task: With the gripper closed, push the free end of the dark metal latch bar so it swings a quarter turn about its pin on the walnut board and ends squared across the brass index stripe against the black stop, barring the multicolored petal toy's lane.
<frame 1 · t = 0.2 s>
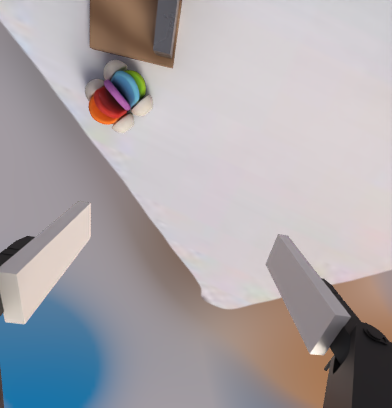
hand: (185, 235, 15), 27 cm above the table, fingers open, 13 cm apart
multicolored petal toy: (123, 99, 36), on the table
latch bar: (167, 18, 29), point 3 cm above the table, hinge at 0.0°
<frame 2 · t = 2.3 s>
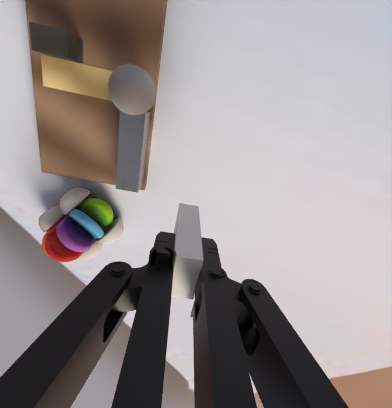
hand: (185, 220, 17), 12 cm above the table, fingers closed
multicolored petal toy: (90, 217, 30), on the table
latch bar: (133, 150, 24), point 3 cm above the table, hinge at 0.0°
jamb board: (98, 93, 24), on the table
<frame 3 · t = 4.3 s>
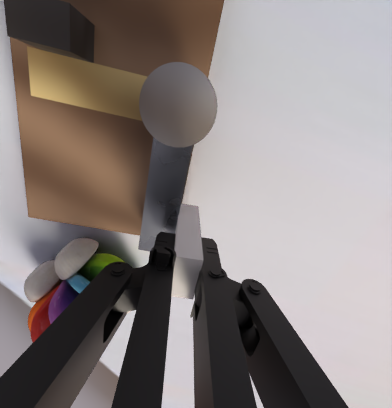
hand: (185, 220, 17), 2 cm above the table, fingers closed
multicolored petal toy: (96, 271, 22), on the table
latch bar: (165, 192, 16), point 3 cm above the table, hinge at 0.0°, touching gripper
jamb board: (115, 107, 16), on the table
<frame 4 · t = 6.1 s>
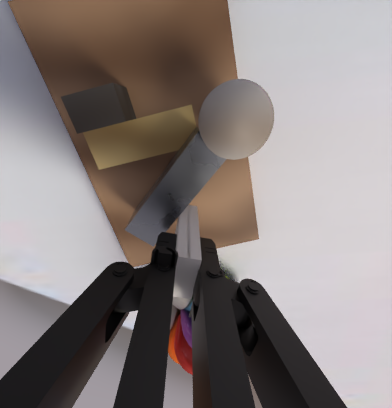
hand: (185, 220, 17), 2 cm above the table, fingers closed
multicolored petal toy: (198, 291, 24), on the table
latch bar: (174, 187, 15), point 3 cm above the table, hinge at -51.5°, touching gripper
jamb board: (164, 146, 17), on the table
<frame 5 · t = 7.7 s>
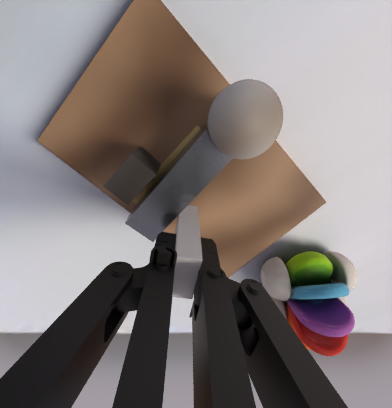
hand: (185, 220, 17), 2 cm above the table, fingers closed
multicolored petal toy: (293, 275, 24), on the table
latch bar: (178, 183, 15), point 3 cm above the table, hinge at -87.3°, touching gripper
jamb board: (193, 170, 18), on the table
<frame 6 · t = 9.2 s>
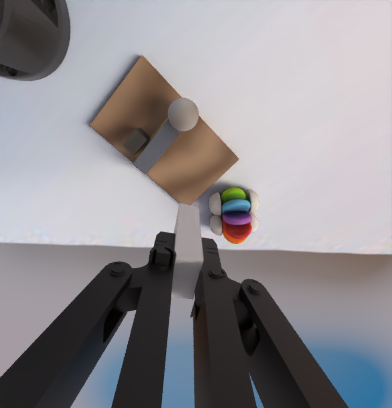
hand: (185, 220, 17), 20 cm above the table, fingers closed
multicolored petal toy: (231, 207, 40), on the table
latch bar: (158, 145, 32), point 3 cm above the table, hinge at -87.3°
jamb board: (168, 141, 34), on the table
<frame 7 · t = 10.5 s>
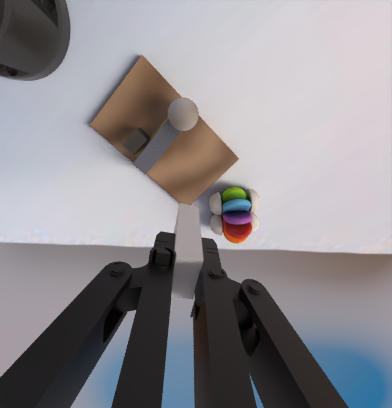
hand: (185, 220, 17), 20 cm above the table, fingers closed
multicolored petal toy: (231, 207, 40), on the table
latch bar: (158, 145, 32), point 3 cm above the table, hinge at -87.3°
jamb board: (168, 141, 34), on the table
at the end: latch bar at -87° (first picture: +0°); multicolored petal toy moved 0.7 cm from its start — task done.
